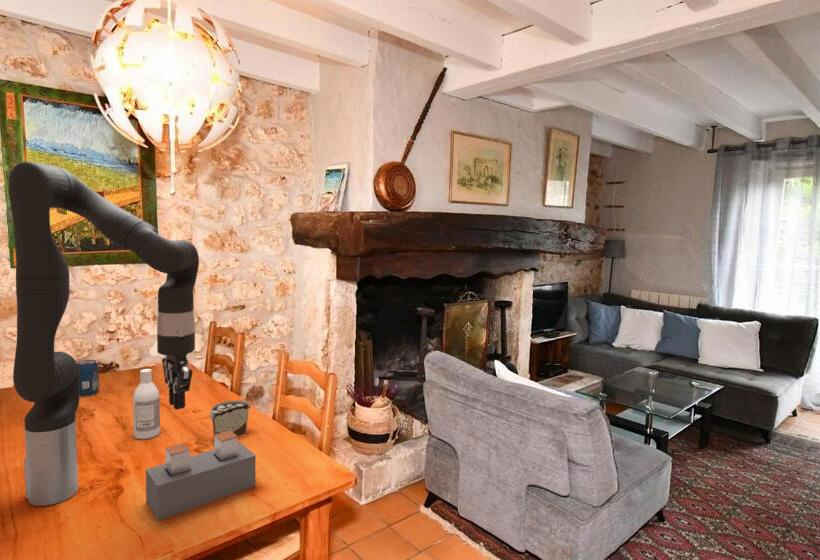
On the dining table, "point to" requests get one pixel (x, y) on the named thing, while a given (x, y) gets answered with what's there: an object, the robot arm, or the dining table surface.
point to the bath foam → (146, 407)
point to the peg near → (177, 459)
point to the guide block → (199, 482)
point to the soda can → (88, 377)
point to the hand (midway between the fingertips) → (177, 405)
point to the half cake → (230, 417)
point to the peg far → (225, 445)
